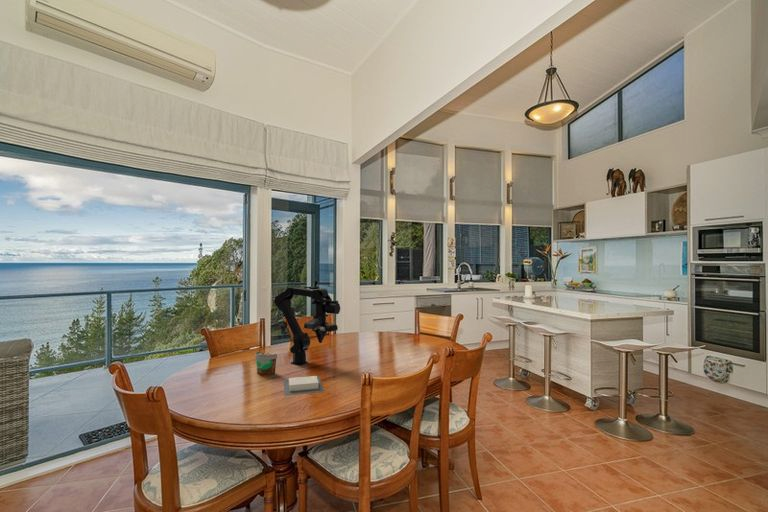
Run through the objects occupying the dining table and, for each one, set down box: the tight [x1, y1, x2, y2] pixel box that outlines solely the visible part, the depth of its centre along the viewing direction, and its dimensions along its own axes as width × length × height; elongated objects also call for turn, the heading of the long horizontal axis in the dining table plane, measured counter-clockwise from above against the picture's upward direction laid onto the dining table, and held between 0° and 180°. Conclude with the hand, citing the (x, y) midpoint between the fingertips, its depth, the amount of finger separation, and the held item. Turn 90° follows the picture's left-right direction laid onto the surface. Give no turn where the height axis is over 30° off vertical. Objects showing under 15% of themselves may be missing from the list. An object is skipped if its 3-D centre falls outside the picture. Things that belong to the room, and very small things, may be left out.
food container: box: [254, 350, 278, 376], centre depth 167 cm, size 12×6×10 cm, turn 62°
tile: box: [288, 375, 319, 392], centre depth 150 cm, size 3×12×9 cm
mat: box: [283, 375, 325, 397], centre depth 152 cm, size 20×16×1 cm
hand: (320, 342), depth 181 cm, fingers closed
